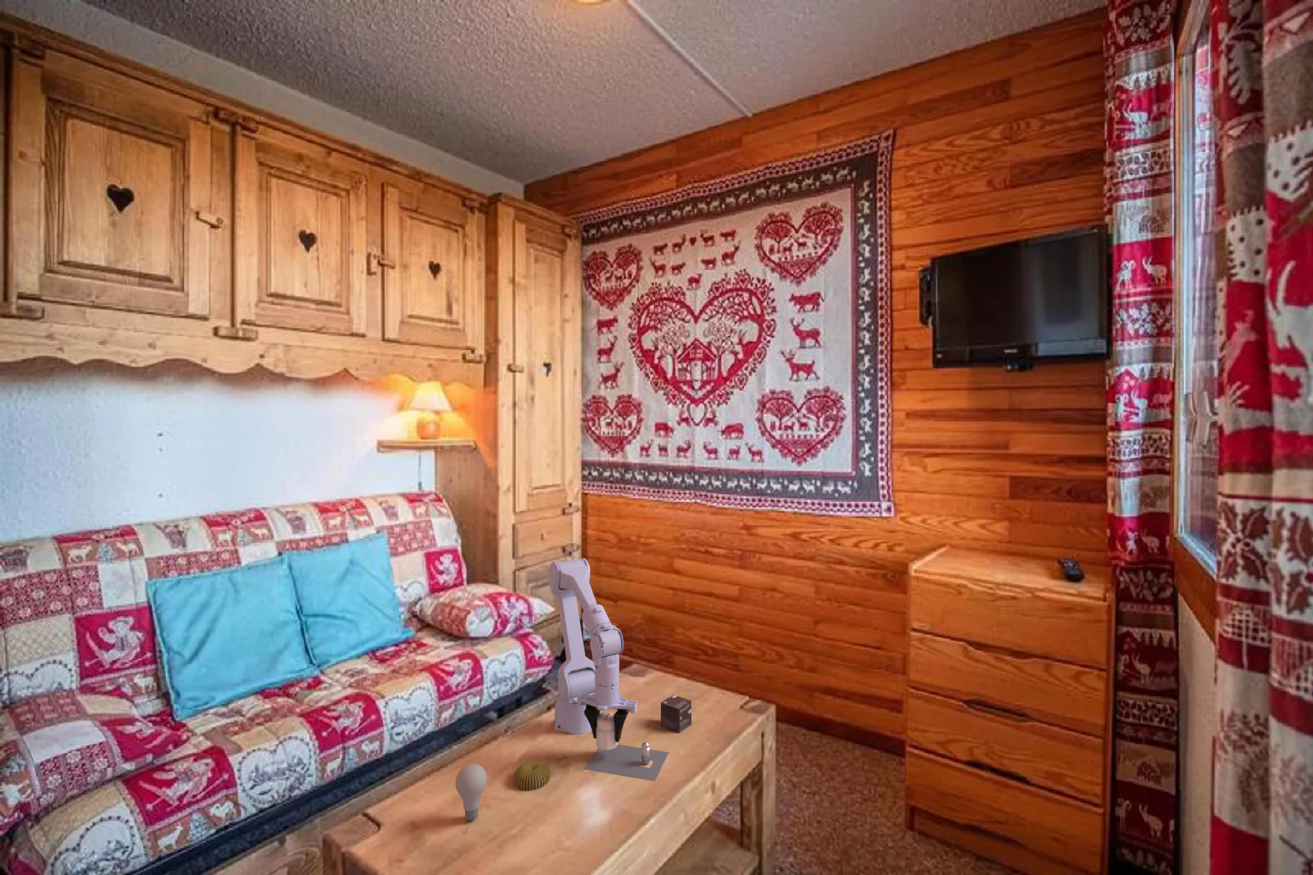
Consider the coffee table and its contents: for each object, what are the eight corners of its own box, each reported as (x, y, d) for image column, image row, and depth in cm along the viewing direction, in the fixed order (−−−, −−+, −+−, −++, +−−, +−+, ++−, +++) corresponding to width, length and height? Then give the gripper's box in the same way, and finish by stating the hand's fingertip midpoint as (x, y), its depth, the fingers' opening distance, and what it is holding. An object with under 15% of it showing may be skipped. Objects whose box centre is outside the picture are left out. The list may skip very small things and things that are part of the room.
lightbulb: (476, 806, 125) (475, 754, 125) (493, 818, 121) (493, 764, 121) (449, 821, 120) (449, 767, 120) (467, 834, 116) (466, 778, 116)
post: (640, 763, 138) (640, 743, 138) (642, 758, 140) (642, 739, 140) (648, 764, 138) (648, 744, 137) (651, 759, 140) (650, 740, 139)
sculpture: (526, 782, 127) (506, 766, 133) (526, 801, 127) (507, 784, 133) (557, 767, 132) (537, 752, 138) (557, 784, 133) (537, 770, 138)
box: (678, 737, 152) (678, 709, 152) (659, 730, 156) (659, 702, 156) (692, 727, 157) (692, 700, 157) (673, 721, 161) (673, 694, 160)
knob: (593, 748, 140) (593, 719, 140) (601, 737, 144) (601, 710, 144) (613, 751, 138) (613, 722, 138) (620, 740, 143) (620, 712, 143)
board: (583, 773, 137) (583, 768, 137) (602, 745, 148) (602, 742, 148) (655, 785, 132) (655, 781, 132) (668, 756, 144) (668, 752, 143)
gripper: (571, 685, 139) (571, 742, 140) (630, 692, 135) (630, 751, 136) (583, 672, 146) (583, 727, 146) (640, 679, 142) (640, 736, 142)
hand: (607, 738), depth 141 cm, fingers closed on knob, 5 cm apart
